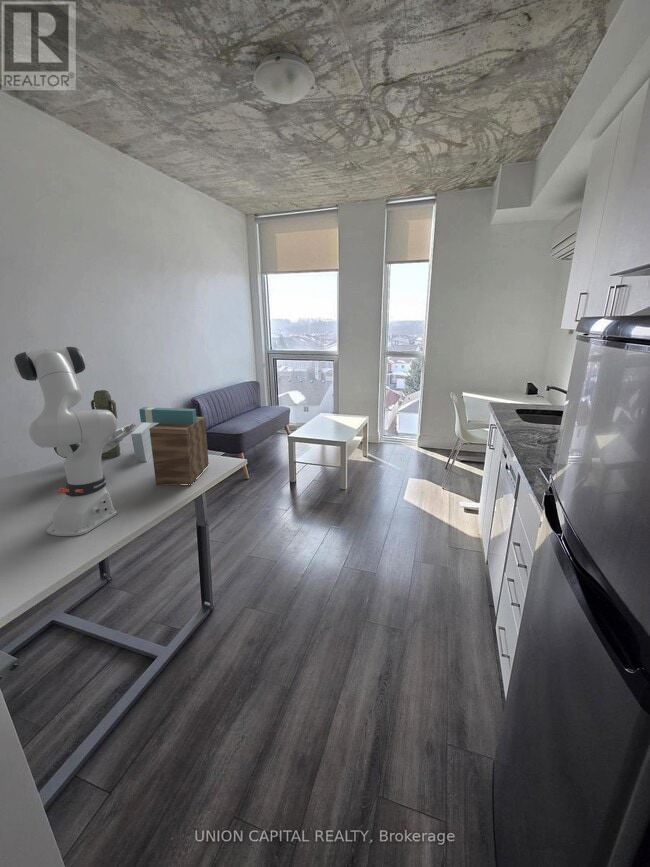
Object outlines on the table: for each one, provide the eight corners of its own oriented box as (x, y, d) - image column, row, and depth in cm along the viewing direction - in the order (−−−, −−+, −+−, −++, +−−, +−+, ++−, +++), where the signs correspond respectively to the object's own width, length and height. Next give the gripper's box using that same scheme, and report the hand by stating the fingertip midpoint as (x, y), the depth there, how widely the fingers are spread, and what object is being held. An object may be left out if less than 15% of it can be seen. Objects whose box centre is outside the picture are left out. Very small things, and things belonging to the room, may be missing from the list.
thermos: (119, 458, 191) (110, 392, 181) (95, 458, 190) (84, 392, 179) (126, 452, 199) (117, 389, 189) (103, 452, 198) (93, 389, 188)
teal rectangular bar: (193, 424, 162) (192, 410, 160) (140, 422, 163) (139, 409, 161) (196, 421, 166) (195, 408, 164) (145, 420, 167) (144, 407, 165)
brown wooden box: (191, 485, 161) (186, 429, 153) (156, 484, 161) (149, 428, 154) (208, 467, 182) (205, 417, 174) (177, 466, 182) (172, 415, 175)
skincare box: (146, 449, 205) (142, 422, 201) (156, 449, 206) (153, 422, 202) (134, 462, 185) (130, 433, 181) (146, 462, 186) (142, 432, 182)
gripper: (86, 441, 158) (111, 427, 155) (115, 429, 177) (137, 416, 175) (96, 453, 159) (120, 439, 157) (123, 439, 179) (145, 427, 176)
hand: (129, 427), depth 166 cm, fingers open, 8 cm apart
